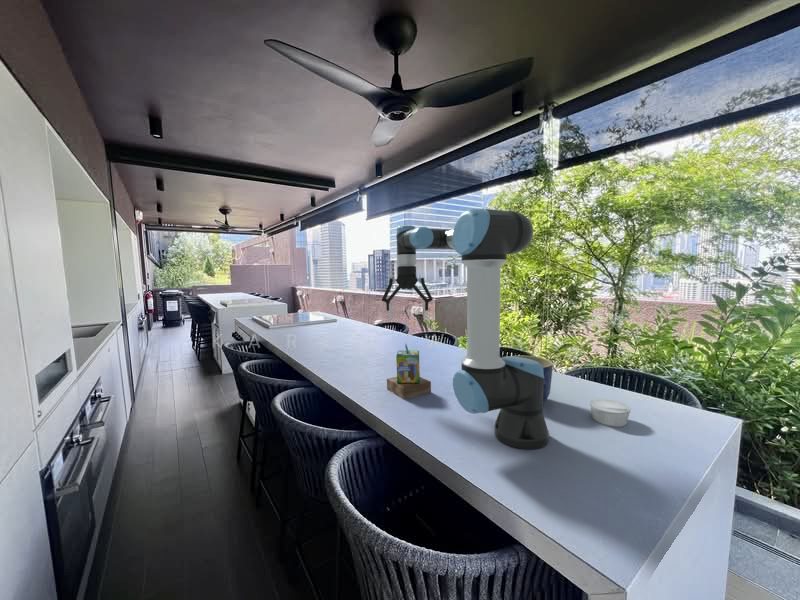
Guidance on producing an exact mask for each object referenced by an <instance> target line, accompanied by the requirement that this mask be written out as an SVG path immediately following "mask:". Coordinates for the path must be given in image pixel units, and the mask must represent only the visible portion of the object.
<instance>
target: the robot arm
mask: <svg viewBox="0 0 800 600" xmlns="http://www.w3.org/2000/svg"><path fill="white" fill-rule="evenodd" d="M533 237H534V227H533V224H532V221H531V220H530V219H529V217H527V216H526V215H525V214H523V213H521V212H518V211H515V210H514V211H513V210H499V209H490V208H485V207H483V208H471V209H468V210H465V211H464V212H462V213H461V214H460V216H459V217H458V219H457V220H456V222H455V224H454V227H453V228H444V229H443V228H428V227H427V226H417V227H416V226H414V225H408V224H407V225H399V226H397V228H396V265H397V269H396V270H397V271H396V272H397V273H396V278H392V277H391V278H389V280H388V284H387V287H386V289H385V291H384V294H383V295H382V298H381V302H384V303H385V305H386V309H385V310H386V311H387V312H388V313H389V315H388V316H389V317H388V319H389V320H392V319H393V302H391V301H392V300H393V298H394V297H395V296H396V294H397V293H398V292H399V291H400V290H401V289H402V290H412V289H413V291H415V292H416V293H417V294H418V295H419V296H420V297H421V299H422V301H424V302H422V304H423V305H422V306H423V307H422V309H423V310H422V316H423V320H426V318H427V316H426V312H427V311H429V303H430V302H432V301H433V296H432V295H431V292H430V290H429V288H428V286H427V285H426V283H425V282H426V281H425V277H420V278H417V266H416V264H417V250H452V251H453V250H454V251H455V252H456V253H457V254H459V255H461V263H462V264H463V265H464V266H465V267H466V270H467V271H466V272H467V273H466V274H467V275H466V276H467V277H466V278H467V279H466V287H467V288H466V289H467V292H466V297H467V298H466V301H467V302H466V303H467V304H466V305H467V306H466V309H467V310H466V317H467V319H466V323H467V324H466V326H467V327H466V331H467V332H466V335H467V336H466V337H467V338H466V344H467V345H466V347H467V348H466V356H465V357H464V358H462V359H461V369H460V370H458V371H456V372H454V375H453V376H452V389H453V392H454V396H455V397H456V400H457V401H458V404H459V405H460V406H461V408H463V409H464V410H465V411H466V412H467V413H470V414H486V413H488V412H493V411H495V410H499V412H498V414H497V418H496V420H495V423H494V426H493V427H494V428H493V433H494V436H495V438H496V439H497V440H498V441H500V442H501V443H502V444H505V445H507V446H510V447H513V448H516V449H517V448H518V449H523V450H537V449H540V448H541V449H542V448H544V447H546V446H547V445H548V444H549V441H550V433H549V429H548V426H547V422H546V420H545V416H544V409H543V408H544V402H543V389H544V374H543V366H542V365H541V364H540V363H539V362H537V361H534V360H531V359H526V358H521V357H511V355H510V356H506V355H505V356H503V357H501V355H500V352H501V351H500V350H501V349H500V347H501V345H500V344H501V342H500V340H501V339H500V338H501V336H500V335H501V333H500V332H501V331H500V329H501V269H502V268H501V267H502V266H503V265H504V264H505V263H506V262H507V259H508V258H507V255H514V254H515V255H516V254H518V253H520V252H523V251H524V250H526V248H528V246H529V245H530V244H531V242H532V240H533ZM395 283H396V284H398V286H397V287H396V288H395V290H393V291H392V293H391V294H390V291H391V289H392V287H393V286H394V284H395ZM417 283H419V284H421V286H422V288H423V290H424V292H425V294H426V295H427V297H428V298H427V297H426V295H424V294H423V292H422V291H421V289H419V288H418V287H417V285H416V284H417ZM389 294H390V295H389ZM388 295H389V297H388Z"/></svg>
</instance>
